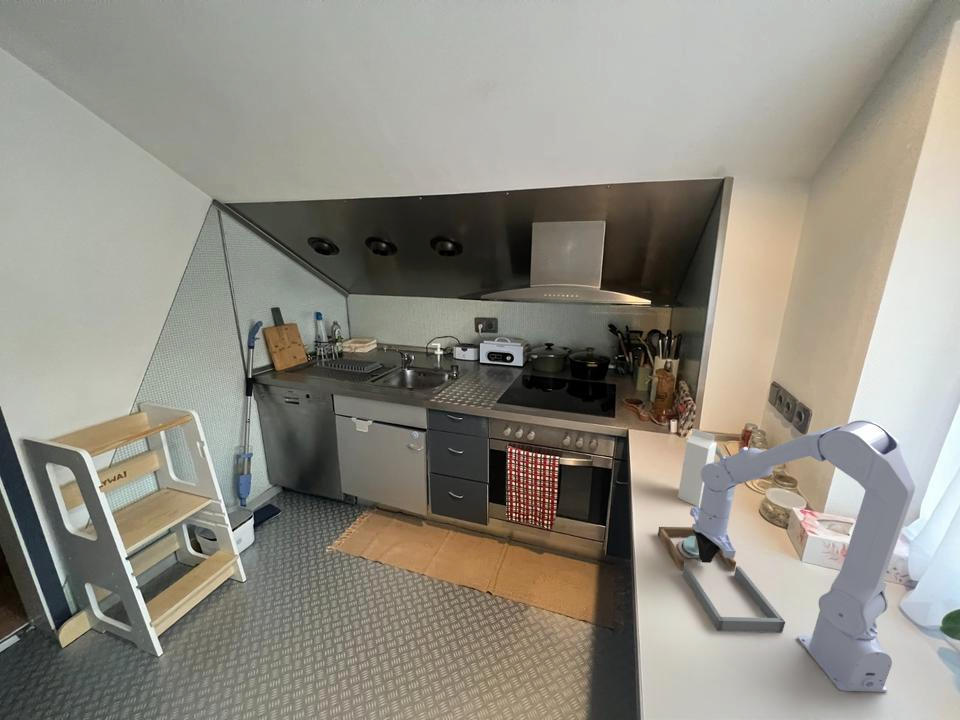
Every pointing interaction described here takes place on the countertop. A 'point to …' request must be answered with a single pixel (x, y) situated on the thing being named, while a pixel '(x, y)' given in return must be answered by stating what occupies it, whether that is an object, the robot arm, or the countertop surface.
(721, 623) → the grey bin
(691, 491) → the milk
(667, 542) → the walnut bin
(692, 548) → the pacifier
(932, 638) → the countertop surface
